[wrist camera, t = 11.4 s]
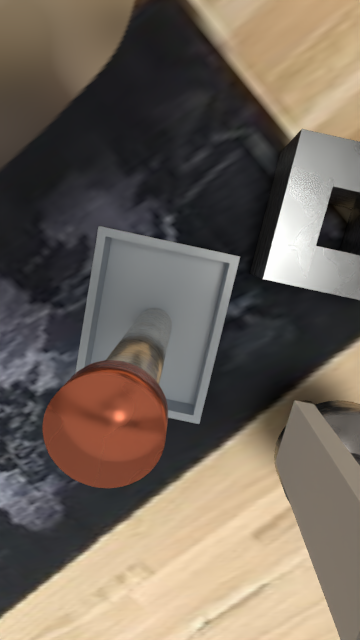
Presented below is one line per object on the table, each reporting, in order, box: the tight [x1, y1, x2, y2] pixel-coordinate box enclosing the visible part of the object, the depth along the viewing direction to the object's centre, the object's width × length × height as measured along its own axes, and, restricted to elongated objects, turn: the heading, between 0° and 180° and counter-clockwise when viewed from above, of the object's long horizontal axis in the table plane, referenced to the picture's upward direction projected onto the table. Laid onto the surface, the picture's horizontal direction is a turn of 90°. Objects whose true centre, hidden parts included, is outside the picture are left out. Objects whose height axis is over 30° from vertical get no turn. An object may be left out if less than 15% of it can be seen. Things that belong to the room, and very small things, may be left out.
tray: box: [76, 226, 240, 424], centre depth 27 cm, size 13×10×2 cm
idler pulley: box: [274, 401, 360, 503], centre depth 25 cm, size 8×8×9 cm
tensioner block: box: [250, 129, 360, 300], centre depth 23 cm, size 9×9×5 cm
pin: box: [43, 308, 172, 488], centre depth 19 cm, size 4×4×16 cm
